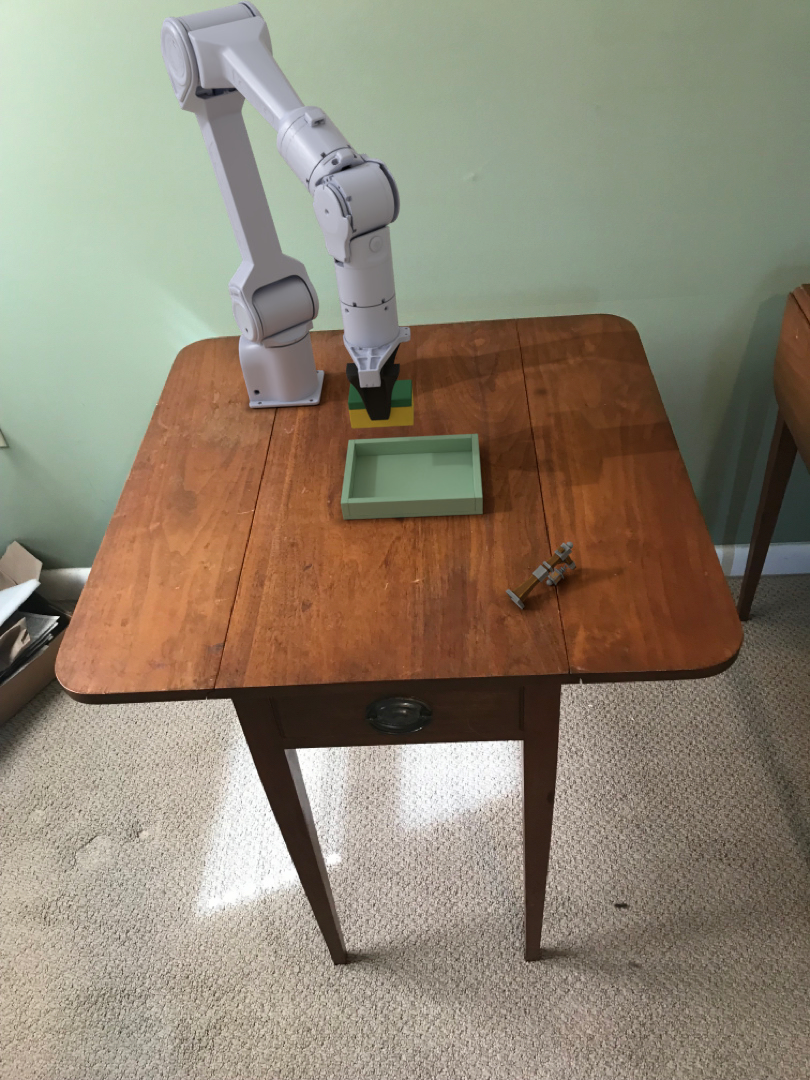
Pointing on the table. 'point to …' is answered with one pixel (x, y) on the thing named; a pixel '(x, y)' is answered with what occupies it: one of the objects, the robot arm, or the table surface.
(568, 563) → the wooden post with brackets
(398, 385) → the sponge
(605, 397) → the table surface
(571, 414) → the table surface
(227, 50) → the robot arm
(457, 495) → the pan
